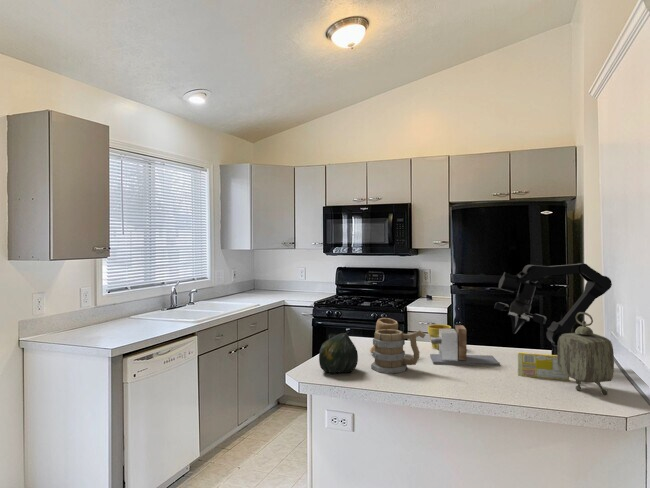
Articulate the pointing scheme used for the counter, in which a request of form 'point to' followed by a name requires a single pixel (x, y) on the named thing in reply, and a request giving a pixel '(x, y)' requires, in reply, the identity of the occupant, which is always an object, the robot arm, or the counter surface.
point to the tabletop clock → (586, 356)
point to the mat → (468, 360)
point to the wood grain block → (460, 340)
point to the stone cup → (385, 326)
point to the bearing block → (448, 345)
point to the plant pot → (436, 332)
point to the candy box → (539, 366)
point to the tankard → (393, 350)
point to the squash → (338, 354)
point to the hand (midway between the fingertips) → (513, 333)
